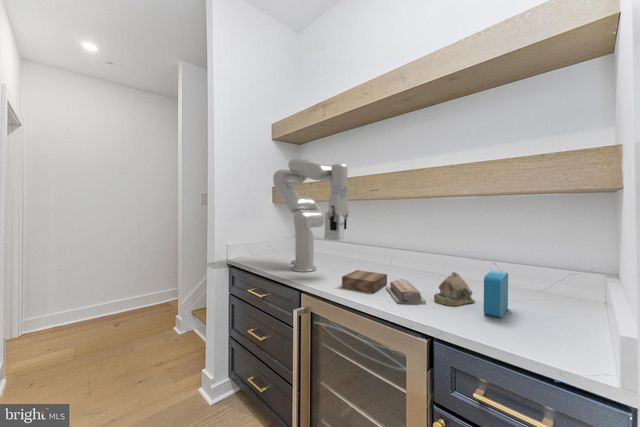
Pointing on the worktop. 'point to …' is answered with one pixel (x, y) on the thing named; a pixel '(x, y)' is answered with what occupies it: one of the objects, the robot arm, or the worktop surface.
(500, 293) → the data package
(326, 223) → the supplement box
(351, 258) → the worktop surface
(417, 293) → the packaged product
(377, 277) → the walnut block
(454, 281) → the ceramic model
